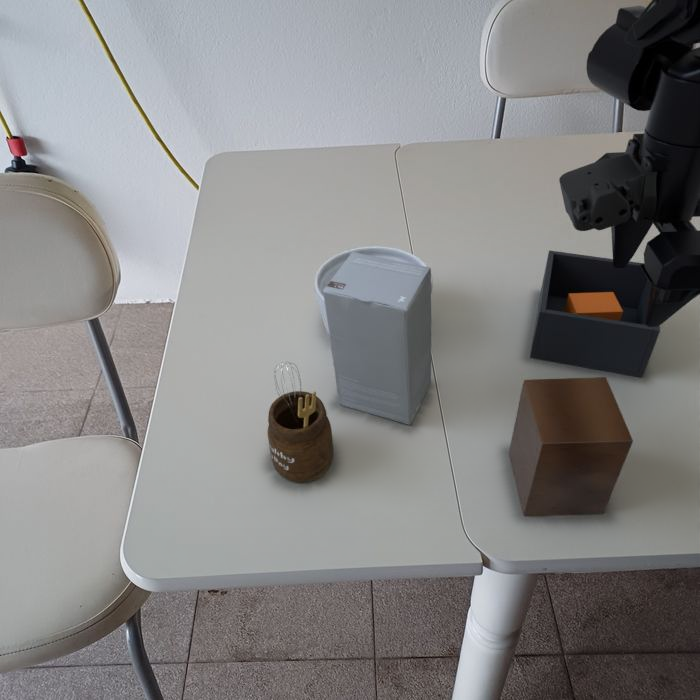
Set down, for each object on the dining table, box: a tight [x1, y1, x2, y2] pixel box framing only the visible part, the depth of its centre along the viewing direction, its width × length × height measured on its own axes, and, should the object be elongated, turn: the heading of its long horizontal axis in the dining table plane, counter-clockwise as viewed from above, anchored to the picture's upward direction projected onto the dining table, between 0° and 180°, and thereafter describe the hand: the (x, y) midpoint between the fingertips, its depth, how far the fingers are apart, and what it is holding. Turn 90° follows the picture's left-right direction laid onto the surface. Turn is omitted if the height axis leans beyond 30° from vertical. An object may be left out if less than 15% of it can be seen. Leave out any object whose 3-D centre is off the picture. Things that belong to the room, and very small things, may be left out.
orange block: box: [564, 292, 623, 321], centre depth 72 cm, size 5×4×4 cm
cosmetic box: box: [323, 252, 432, 425], centre depth 62 cm, size 8×7×16 cm
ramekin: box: [313, 245, 433, 336], centre depth 74 cm, size 13×13×7 cm
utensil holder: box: [267, 361, 334, 483], centre depth 58 cm, size 6×6×12 cm
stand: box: [508, 376, 634, 517], centre depth 56 cm, size 7×7×10 cm
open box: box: [529, 250, 661, 378], centre depth 72 cm, size 12×12×7 cm
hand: (634, 294), depth 60 cm, fingers open, 9 cm apart
